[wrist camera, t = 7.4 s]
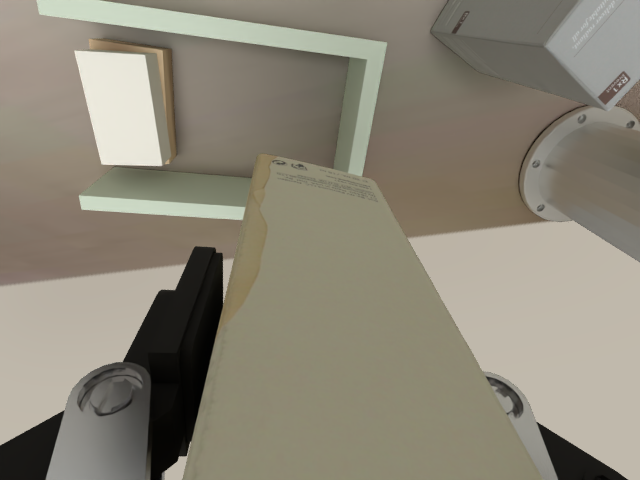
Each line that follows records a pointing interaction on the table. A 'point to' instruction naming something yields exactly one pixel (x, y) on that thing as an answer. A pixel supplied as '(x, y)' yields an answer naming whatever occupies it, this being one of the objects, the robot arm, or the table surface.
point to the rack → (215, 190)
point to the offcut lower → (165, 76)
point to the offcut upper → (125, 106)
